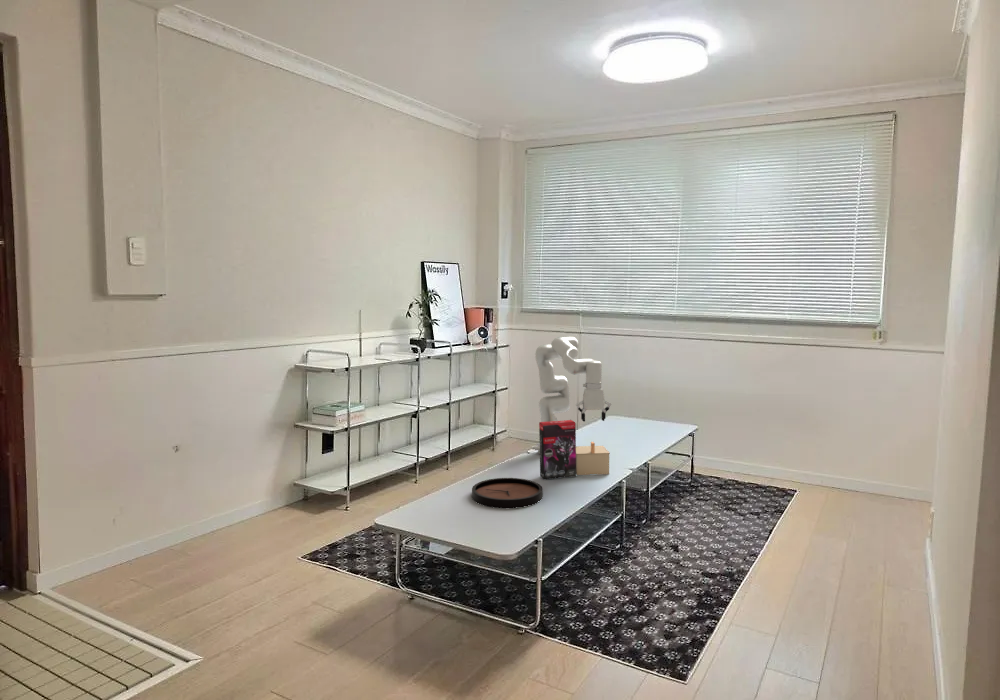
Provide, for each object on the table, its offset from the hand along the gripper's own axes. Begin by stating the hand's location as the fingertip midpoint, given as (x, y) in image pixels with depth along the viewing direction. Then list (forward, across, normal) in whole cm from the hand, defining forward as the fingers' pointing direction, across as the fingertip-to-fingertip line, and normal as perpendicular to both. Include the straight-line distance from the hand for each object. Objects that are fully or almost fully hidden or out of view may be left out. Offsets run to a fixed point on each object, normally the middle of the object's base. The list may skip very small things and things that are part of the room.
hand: (593, 420), depth 331 cm
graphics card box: (+27, -18, -4) cm, 33 cm away
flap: (+16, 0, +5) cm, 17 cm away
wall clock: (+27, -46, -30) cm, 61 cm away
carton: (+26, 0, +5) cm, 27 cm away
